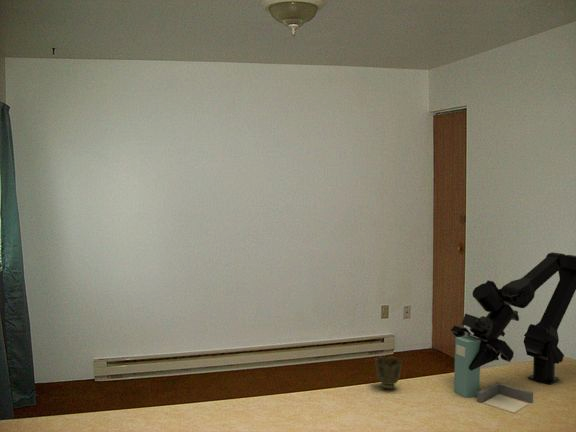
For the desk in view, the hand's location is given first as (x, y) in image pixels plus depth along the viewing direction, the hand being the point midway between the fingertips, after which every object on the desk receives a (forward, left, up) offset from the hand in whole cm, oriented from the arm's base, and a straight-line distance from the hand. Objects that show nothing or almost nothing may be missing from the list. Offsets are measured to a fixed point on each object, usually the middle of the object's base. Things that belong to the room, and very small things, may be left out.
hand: (463, 366), depth 144 cm
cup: (+12, -16, -8) cm, 21 cm away
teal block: (-1, 0, -8) cm, 8 cm away
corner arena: (-4, +10, -8) cm, 13 cm away
